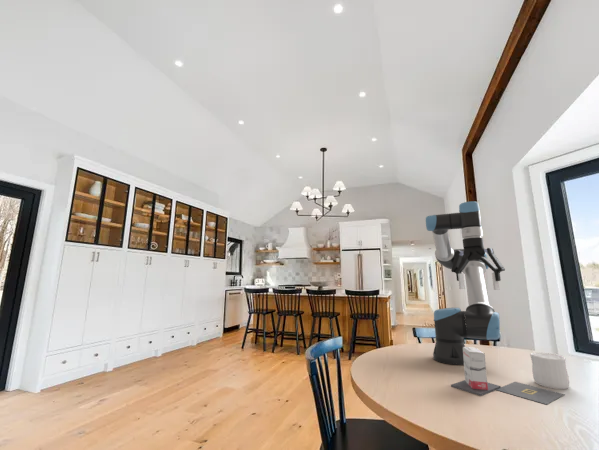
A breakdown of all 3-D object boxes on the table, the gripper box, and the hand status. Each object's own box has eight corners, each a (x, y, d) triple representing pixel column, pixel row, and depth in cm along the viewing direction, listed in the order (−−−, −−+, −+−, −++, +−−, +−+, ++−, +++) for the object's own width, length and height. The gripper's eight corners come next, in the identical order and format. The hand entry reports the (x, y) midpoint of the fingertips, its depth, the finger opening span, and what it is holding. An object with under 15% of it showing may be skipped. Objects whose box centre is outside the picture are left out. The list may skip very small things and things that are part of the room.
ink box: (489, 390, 96) (485, 352, 98) (472, 389, 97) (468, 351, 100) (480, 381, 105) (476, 346, 107) (464, 380, 106) (461, 346, 108)
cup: (528, 382, 106) (524, 353, 107) (544, 378, 109) (540, 351, 111) (559, 391, 97) (554, 360, 99) (576, 387, 101) (571, 357, 103)
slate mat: (495, 390, 99) (495, 389, 99) (515, 382, 106) (515, 381, 106) (546, 404, 87) (546, 403, 87) (564, 394, 94) (564, 393, 94)
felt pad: (451, 386, 102) (450, 384, 102) (471, 379, 109) (471, 377, 109) (480, 396, 94) (480, 394, 94) (500, 387, 100) (500, 386, 100)
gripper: (439, 240, 132) (444, 288, 128) (500, 233, 111) (508, 290, 107) (449, 241, 135) (454, 288, 132) (510, 234, 115) (517, 289, 111)
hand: (478, 289), depth 119 cm, fingers open, 13 cm apart
